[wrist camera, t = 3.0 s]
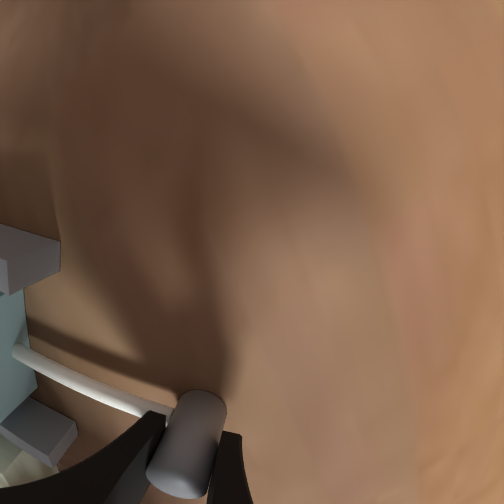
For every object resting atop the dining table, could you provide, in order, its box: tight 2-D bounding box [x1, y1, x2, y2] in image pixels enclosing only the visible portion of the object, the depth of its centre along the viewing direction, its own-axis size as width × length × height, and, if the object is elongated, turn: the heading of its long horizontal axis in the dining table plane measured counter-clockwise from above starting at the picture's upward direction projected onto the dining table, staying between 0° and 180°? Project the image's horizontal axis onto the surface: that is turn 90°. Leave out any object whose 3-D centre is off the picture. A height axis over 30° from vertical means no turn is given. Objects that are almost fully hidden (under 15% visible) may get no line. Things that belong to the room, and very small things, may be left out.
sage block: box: [0, 434, 59, 488], centre depth 12 cm, size 6×6×5 cm
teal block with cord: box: [0, 289, 227, 499], centre depth 10 cm, size 6×16×4 cm, turn 78°
